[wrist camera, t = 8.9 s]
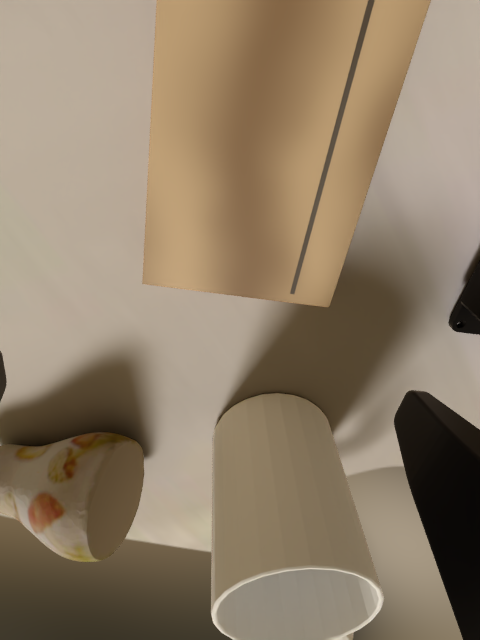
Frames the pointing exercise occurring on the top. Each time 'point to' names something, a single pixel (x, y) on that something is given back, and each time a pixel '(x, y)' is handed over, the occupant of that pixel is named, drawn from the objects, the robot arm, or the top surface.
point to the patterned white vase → (74, 492)
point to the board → (268, 139)
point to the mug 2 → (285, 528)
